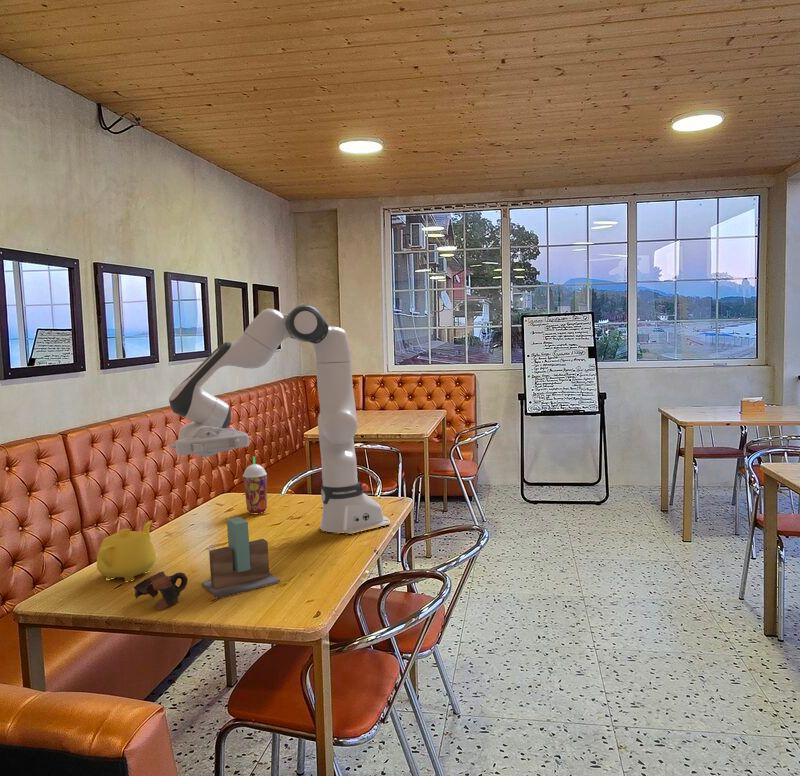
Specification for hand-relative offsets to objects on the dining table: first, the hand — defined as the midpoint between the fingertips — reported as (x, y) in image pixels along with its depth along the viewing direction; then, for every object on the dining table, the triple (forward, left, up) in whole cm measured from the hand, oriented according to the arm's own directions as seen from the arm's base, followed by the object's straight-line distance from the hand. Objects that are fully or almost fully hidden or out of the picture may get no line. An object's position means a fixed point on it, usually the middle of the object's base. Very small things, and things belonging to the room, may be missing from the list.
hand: (221, 446), depth 178 cm
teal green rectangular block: (0, +19, -28) cm, 34 cm away
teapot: (+25, -3, -32) cm, 41 cm away
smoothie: (-18, -47, -32) cm, 60 cm away
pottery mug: (+19, +21, -32) cm, 43 cm away
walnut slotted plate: (0, +19, -32) cm, 37 cm away
